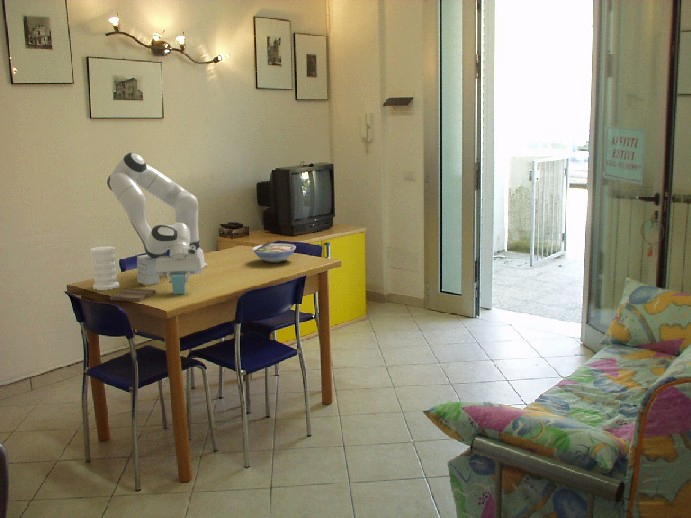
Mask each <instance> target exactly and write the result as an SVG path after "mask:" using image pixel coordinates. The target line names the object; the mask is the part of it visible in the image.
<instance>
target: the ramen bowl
mask: <svg viewBox="0 0 691 518" xmlns="http://www.w3.org/2000/svg"><path fill="white" fill-rule="evenodd" d="M296 248H297V246H296V245H295V244H292V243H291V244H290V243H273V241H270V240H268V241H266V242H265V243H264V244H261V245H256V246H254V247H252V251H253V253H254V254H255V255H256V256H257V258H259V259H260V260H262V261H266V262H267V263H270V264H271V263H275V264H276V263H281V262H282V261H284V260H287V259H289V258H291V256H292V255H293V254H294V252H295V250H296Z"/></svg>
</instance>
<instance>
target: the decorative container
mask: <svg viewBox="0 0 691 518" xmlns="http://www.w3.org/2000/svg"><path fill="white" fill-rule="evenodd" d="M115 251H116V247H115V246H109V245H108V246H97V247H92V248H90V249H89V252H90V254H91V261H92V265H91V267H92V273H93V281H94V284H93V285H92V289H93V290H95V289H97V290H96V291H108V289H110V290H114V289H113V288H115V289H117V288H119V287H120V282H119V281H117V279H118V276H117V268H116V260H115V259H116V255H115Z"/></svg>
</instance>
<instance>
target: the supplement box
mask: <svg viewBox="0 0 691 518" xmlns="http://www.w3.org/2000/svg"><path fill="white" fill-rule="evenodd" d="M136 266H137V267H136V270H137V271H136V275H137V277H136V279H137V281H136V282H138V284H141V285H143V286H146V287H147V285H148V286H151V285H154V284H155V285H156V284H158V283H160V276H158V275H157V274H156V272H155V268H156V259H155V258H151V257H150V256H148V255H147V254H146V253H145V254H144V255H143V254H142V255H137V256H136Z"/></svg>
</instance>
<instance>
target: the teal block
mask: <svg viewBox="0 0 691 518" xmlns="http://www.w3.org/2000/svg"><path fill="white" fill-rule="evenodd" d="M184 277H186V274H173V275H171V278H172V283H171V286H172V290H171V291H172V295H185V293H186V291H187V290H186V289H187V288H186V282H184Z"/></svg>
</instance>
